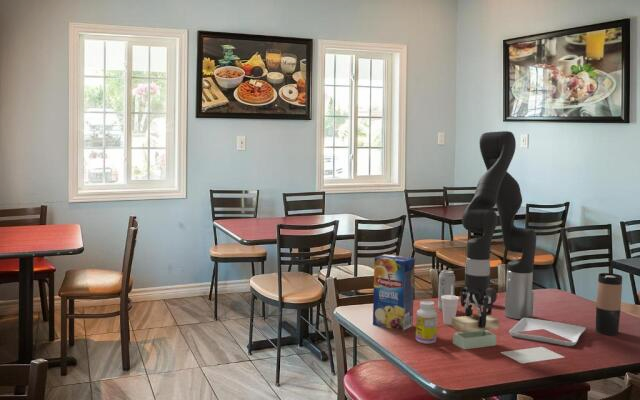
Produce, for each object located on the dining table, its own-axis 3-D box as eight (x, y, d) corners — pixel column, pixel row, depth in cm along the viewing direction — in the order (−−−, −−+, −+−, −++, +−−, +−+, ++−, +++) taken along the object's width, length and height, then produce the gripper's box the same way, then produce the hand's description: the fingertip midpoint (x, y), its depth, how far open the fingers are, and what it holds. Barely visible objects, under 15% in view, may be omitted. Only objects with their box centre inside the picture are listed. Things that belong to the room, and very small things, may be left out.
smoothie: (458, 327, 225) (459, 287, 223) (439, 325, 226) (441, 286, 224) (458, 321, 231) (459, 283, 229) (440, 320, 232) (441, 282, 231)
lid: (485, 323, 207) (486, 310, 207) (498, 328, 201) (498, 316, 201) (451, 326, 202) (452, 314, 202) (463, 332, 197) (463, 320, 196)
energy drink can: (455, 312, 243) (456, 273, 242) (439, 311, 243) (440, 273, 242) (452, 307, 249) (453, 270, 248) (436, 307, 249) (438, 269, 248)
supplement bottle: (413, 337, 212) (414, 299, 210) (433, 337, 212) (434, 299, 211) (418, 344, 205) (419, 305, 204) (438, 344, 206) (440, 305, 204)
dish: (484, 342, 208) (484, 329, 207) (495, 348, 202) (496, 334, 202) (452, 346, 203) (453, 333, 203) (463, 353, 198) (464, 338, 197)
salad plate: (522, 325, 229) (523, 316, 229) (586, 335, 218) (586, 326, 218) (507, 341, 211) (507, 331, 211) (575, 353, 200) (576, 342, 200)
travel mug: (617, 330, 224) (621, 274, 222) (620, 336, 217) (624, 278, 215) (593, 327, 227) (597, 272, 225) (595, 333, 219) (599, 276, 217)
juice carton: (412, 325, 225) (415, 258, 223) (403, 330, 219) (405, 261, 217) (382, 319, 232) (384, 254, 229) (372, 324, 226) (374, 257, 223)
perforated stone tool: (457, 300, 260) (457, 284, 260) (463, 298, 264) (464, 281, 264) (491, 307, 251) (492, 290, 250) (497, 305, 255) (498, 288, 254)
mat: (541, 350, 201) (542, 346, 201) (564, 361, 192) (565, 357, 192) (499, 356, 195) (500, 352, 195) (521, 367, 186) (521, 363, 186)
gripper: (501, 276, 195) (499, 329, 197) (473, 267, 208) (471, 317, 210) (481, 277, 192) (478, 332, 194) (454, 268, 205) (452, 319, 207)
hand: (475, 324), depth 202 cm, fingers closed on lid, 6 cm apart
